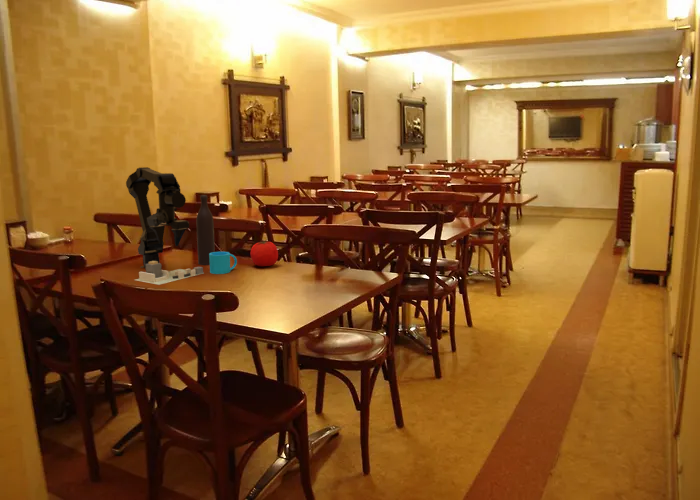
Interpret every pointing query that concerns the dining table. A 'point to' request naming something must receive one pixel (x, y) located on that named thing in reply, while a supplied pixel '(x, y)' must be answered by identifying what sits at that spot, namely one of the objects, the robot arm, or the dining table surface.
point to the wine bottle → (204, 232)
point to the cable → (184, 276)
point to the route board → (171, 274)
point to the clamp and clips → (192, 272)
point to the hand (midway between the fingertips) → (168, 244)
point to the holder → (153, 276)
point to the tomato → (264, 253)
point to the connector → (154, 268)
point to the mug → (221, 262)
